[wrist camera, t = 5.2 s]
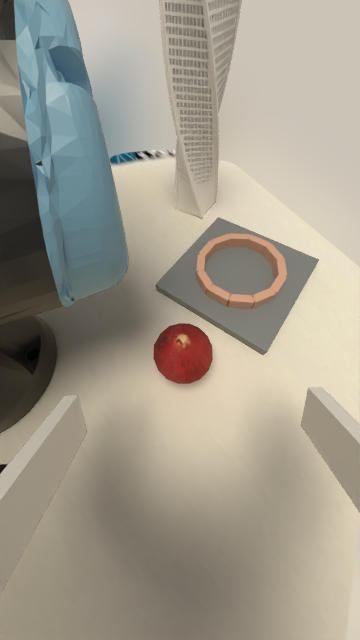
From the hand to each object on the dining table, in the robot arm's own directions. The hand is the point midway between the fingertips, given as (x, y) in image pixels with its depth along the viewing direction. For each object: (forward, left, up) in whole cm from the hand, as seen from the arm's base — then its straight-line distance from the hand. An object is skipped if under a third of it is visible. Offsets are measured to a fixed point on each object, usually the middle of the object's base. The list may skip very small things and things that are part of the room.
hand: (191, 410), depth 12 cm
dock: (+18, +5, -10) cm, 21 cm away
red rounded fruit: (+4, +4, -10) cm, 12 cm away
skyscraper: (+28, +19, -10) cm, 35 cm away
